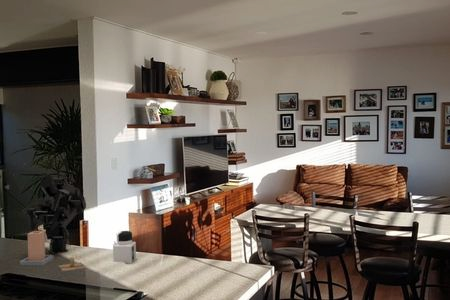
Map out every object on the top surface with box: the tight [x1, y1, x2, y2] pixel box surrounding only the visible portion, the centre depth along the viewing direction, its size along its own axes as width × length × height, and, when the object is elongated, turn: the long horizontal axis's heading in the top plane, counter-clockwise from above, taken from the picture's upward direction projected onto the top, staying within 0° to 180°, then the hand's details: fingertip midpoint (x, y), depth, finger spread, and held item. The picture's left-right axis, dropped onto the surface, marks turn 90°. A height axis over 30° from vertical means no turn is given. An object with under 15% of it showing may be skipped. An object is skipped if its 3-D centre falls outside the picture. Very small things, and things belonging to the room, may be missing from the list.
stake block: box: [58, 257, 86, 272], centre depth 186 cm, size 9×9×4 cm
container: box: [112, 230, 137, 265], centre depth 195 cm, size 8×8×13 cm
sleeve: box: [27, 230, 46, 261], centre depth 194 cm, size 5×5×13 cm
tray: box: [19, 254, 55, 266], centre depth 194 cm, size 10×10×2 cm
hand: (41, 229), depth 199 cm, fingers open, 9 cm apart
